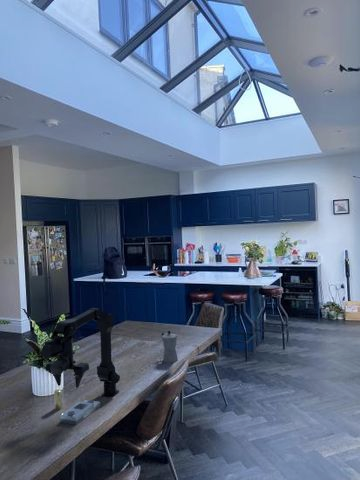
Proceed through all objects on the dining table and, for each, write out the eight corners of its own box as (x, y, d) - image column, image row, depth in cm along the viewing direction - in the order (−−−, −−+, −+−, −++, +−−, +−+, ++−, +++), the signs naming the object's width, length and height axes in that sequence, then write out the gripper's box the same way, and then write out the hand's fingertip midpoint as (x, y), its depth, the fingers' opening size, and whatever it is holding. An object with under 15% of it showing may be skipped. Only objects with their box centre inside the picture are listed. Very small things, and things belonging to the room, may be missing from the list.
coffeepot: (182, 361, 225) (181, 331, 225) (169, 365, 220) (168, 334, 220) (169, 354, 238) (168, 326, 238) (156, 358, 233) (155, 329, 233)
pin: (58, 406, 173) (57, 389, 173) (63, 407, 172) (63, 390, 172) (53, 409, 170) (52, 392, 170) (59, 410, 169) (58, 392, 169)
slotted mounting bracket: (85, 403, 175) (85, 395, 175) (100, 405, 172) (100, 397, 172) (60, 421, 158) (60, 413, 158) (76, 424, 155) (75, 416, 155)
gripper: (35, 355, 157) (37, 392, 157) (73, 358, 150) (75, 397, 151) (52, 347, 167) (54, 381, 168) (88, 349, 161) (90, 385, 161)
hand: (68, 386), depth 162 cm, fingers open, 9 cm apart
